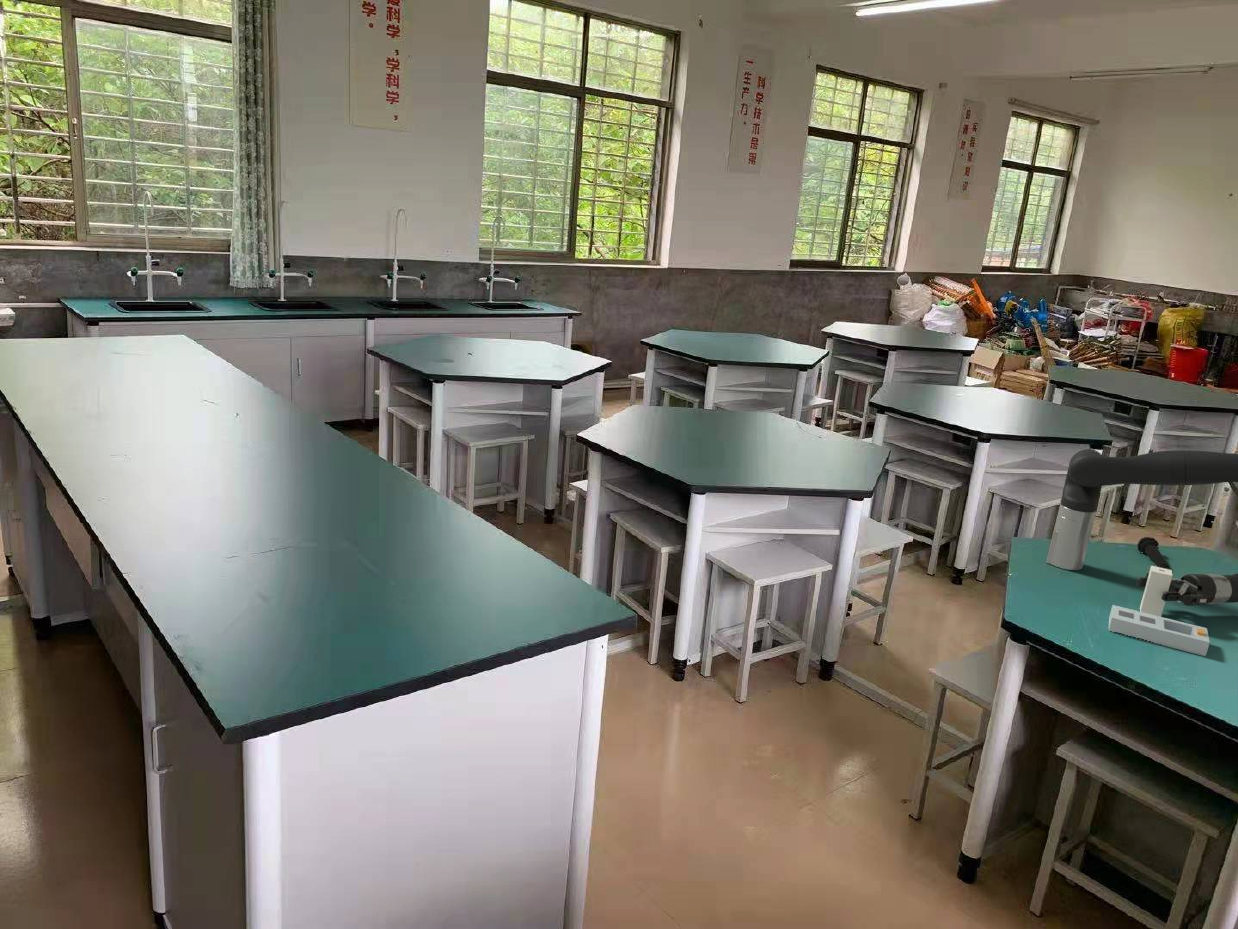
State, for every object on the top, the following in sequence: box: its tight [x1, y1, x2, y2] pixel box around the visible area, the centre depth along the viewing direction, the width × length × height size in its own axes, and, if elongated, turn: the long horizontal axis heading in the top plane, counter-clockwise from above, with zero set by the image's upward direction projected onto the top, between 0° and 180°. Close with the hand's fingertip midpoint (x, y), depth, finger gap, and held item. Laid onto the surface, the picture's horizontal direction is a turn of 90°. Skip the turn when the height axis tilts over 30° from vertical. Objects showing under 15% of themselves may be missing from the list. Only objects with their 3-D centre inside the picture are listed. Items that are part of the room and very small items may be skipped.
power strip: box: [1108, 604, 1211, 657], centre depth 216 cm, size 20×9×4 cm, turn 61°
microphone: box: [1137, 536, 1170, 570], centre depth 267 cm, size 6×6×20 cm
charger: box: [1139, 565, 1173, 617], centre depth 227 cm, size 4×4×12 cm
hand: (1150, 589), depth 226 cm, fingers open, 8 cm apart
